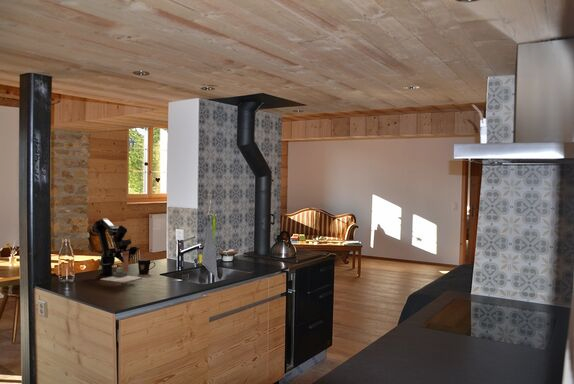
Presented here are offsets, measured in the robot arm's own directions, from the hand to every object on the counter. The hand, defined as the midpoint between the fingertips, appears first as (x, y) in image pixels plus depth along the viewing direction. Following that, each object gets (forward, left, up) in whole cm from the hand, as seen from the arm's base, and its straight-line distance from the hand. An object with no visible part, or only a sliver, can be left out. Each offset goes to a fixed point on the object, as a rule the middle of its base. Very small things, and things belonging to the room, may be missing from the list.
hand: (126, 261), depth 302 cm
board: (-8, +5, -13) cm, 16 cm away
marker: (-1, +1, -7) cm, 7 cm away
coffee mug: (-6, +26, -13) cm, 30 cm away
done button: (-14, +10, -11) cm, 20 cm away
